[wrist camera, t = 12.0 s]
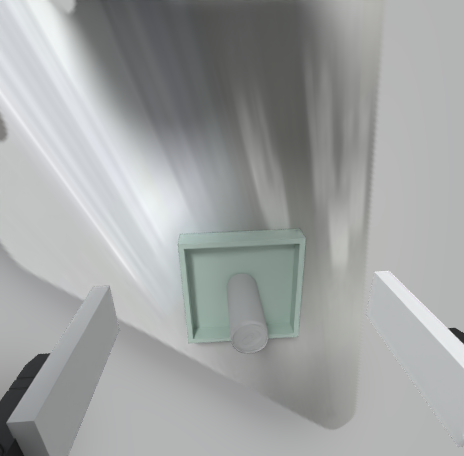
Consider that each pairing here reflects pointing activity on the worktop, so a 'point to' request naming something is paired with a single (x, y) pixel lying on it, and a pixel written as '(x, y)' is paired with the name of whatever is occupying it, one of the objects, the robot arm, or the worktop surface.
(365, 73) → the worktop surface
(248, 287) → the beverage can
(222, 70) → the worktop surface
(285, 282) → the tray
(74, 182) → the worktop surface
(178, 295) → the worktop surface
